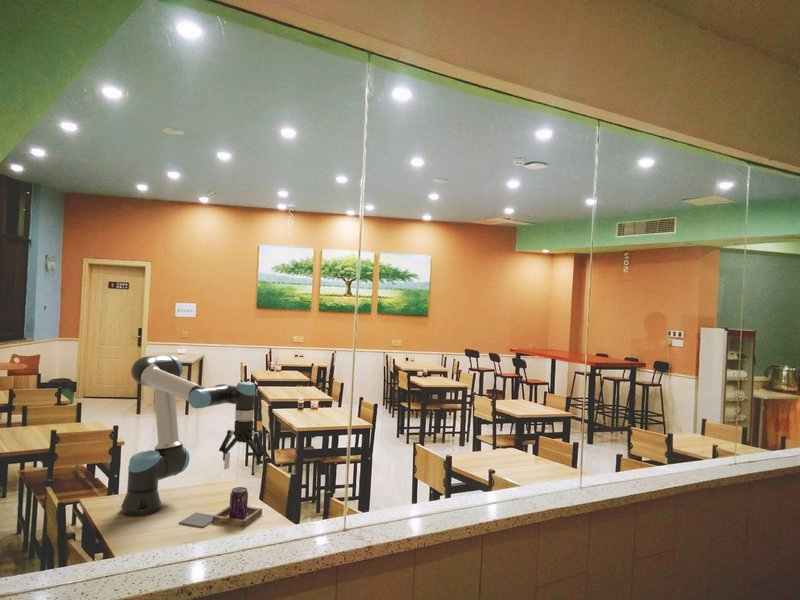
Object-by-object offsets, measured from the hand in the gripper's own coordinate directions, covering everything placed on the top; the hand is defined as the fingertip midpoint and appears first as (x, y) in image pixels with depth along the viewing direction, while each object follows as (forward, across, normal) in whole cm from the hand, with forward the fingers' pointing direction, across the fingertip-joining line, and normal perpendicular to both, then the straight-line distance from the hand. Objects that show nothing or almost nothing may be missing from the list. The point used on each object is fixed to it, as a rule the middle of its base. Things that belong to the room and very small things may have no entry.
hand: (241, 470), depth 214 cm
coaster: (+20, -13, -8) cm, 25 cm away
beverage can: (+20, 0, 0) cm, 20 cm away
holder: (+20, 0, 0) cm, 20 cm away
